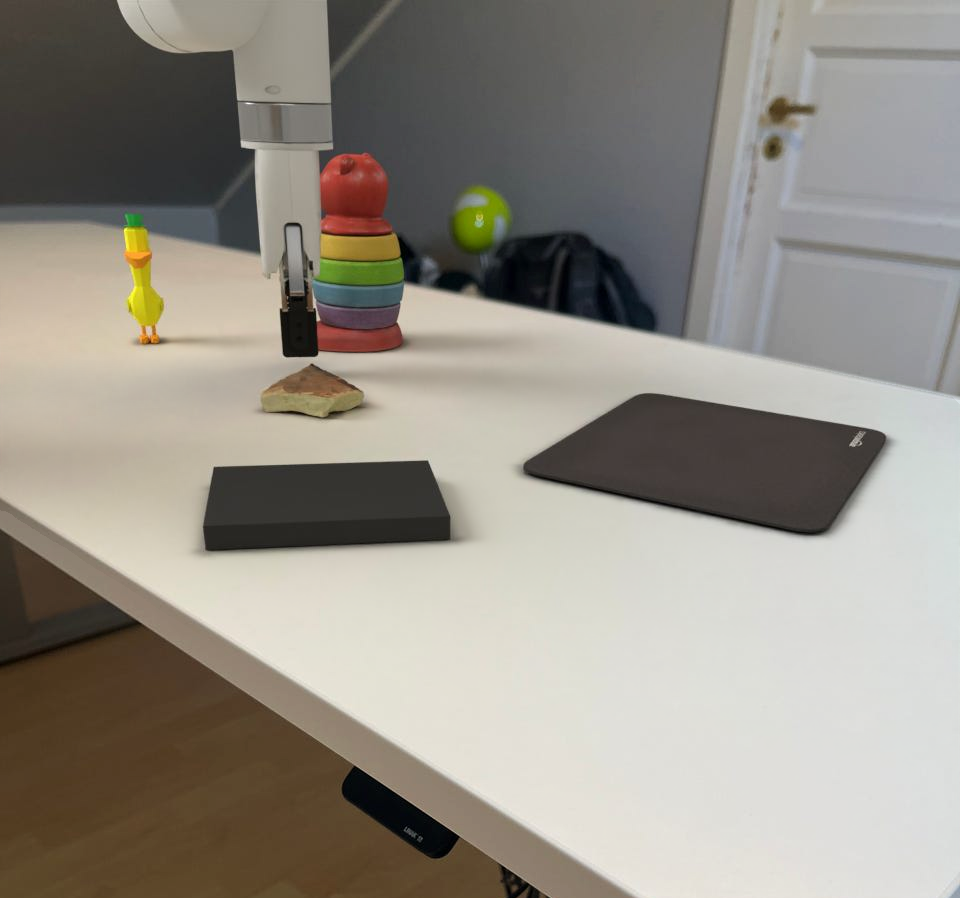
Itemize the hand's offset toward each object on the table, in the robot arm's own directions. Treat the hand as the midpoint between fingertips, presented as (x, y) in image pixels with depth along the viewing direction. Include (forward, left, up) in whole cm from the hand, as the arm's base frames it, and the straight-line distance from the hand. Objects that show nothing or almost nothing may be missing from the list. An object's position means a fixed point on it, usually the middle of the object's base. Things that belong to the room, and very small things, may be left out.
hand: (300, 354), depth 89 cm
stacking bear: (+6, +13, -2) cm, 15 cm away
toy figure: (-15, +14, -2) cm, 21 cm away
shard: (0, -9, -2) cm, 9 cm away
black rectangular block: (+1, -34, -2) cm, 34 cm away
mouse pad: (+30, -26, -2) cm, 40 cm away
